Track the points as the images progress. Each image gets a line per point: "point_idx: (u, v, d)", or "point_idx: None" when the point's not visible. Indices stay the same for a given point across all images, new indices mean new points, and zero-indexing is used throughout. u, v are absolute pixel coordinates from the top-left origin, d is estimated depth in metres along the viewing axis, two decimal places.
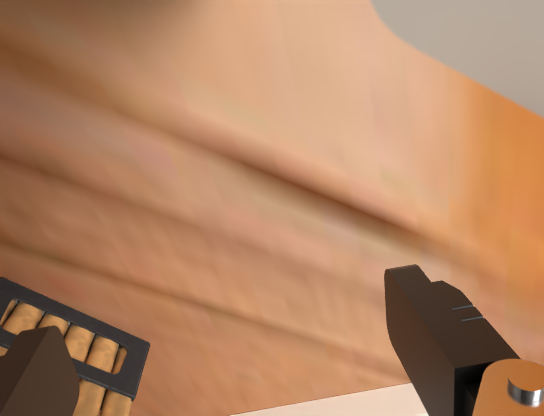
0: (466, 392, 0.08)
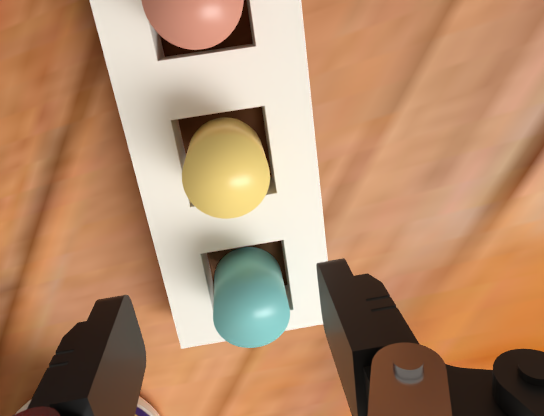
0: (365, 373, 0.09)
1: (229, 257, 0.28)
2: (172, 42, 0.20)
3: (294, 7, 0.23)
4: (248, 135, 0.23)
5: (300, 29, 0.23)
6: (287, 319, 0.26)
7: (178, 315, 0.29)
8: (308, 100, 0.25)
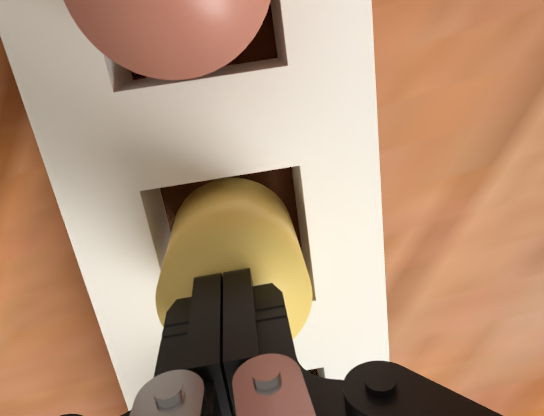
0: None
1: None
2: (125, 65, 0.10)
3: None
4: (273, 220, 0.13)
5: (367, 35, 0.13)
6: None
7: None
8: (374, 156, 0.14)
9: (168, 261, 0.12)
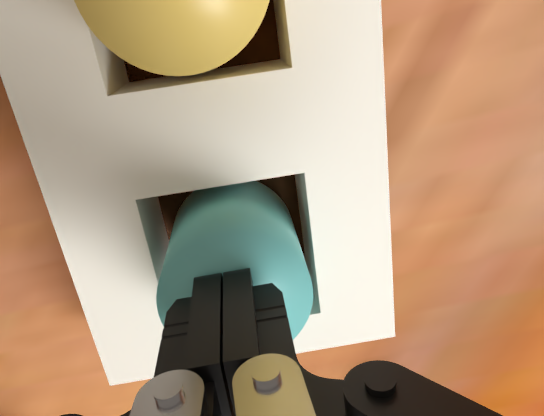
0: None
1: (197, 194, 0.15)
2: None
3: None
4: None
5: None
6: (307, 307, 0.13)
7: (99, 323, 0.15)
8: None
9: None
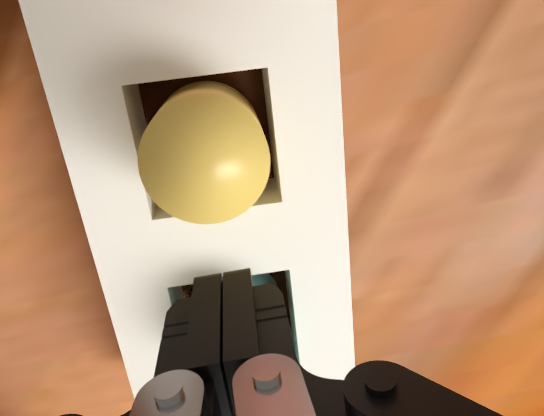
0: None
1: None
2: None
3: None
4: (239, 102, 0.15)
5: None
6: None
7: (135, 373, 0.20)
8: (335, 61, 0.16)
9: (149, 123, 0.14)
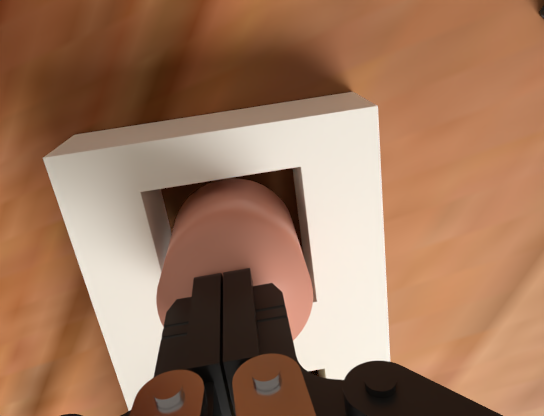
0: None
1: None
2: None
3: (374, 254, 0.16)
4: None
5: (381, 279, 0.16)
6: None
7: None
8: (386, 359, 0.17)
9: None
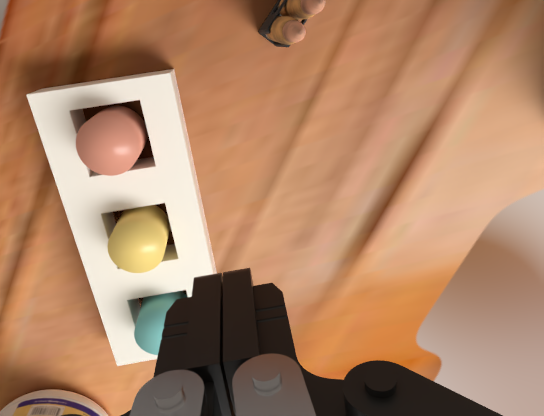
0: None
1: None
2: (96, 172, 0.32)
3: (179, 142, 0.34)
4: (152, 220, 0.36)
5: (185, 155, 0.35)
6: None
7: (113, 342, 0.40)
8: (195, 199, 0.36)
9: (111, 234, 0.34)
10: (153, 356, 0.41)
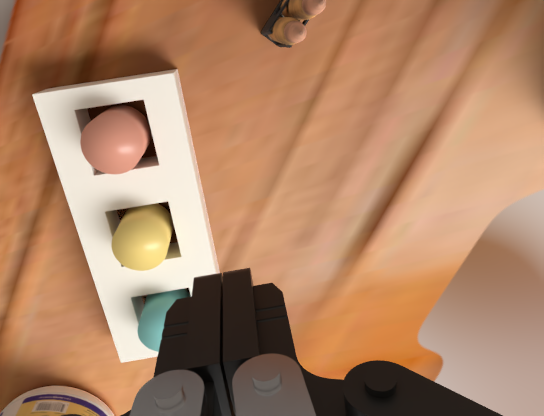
0: None
1: None
2: (101, 170, 0.33)
3: (183, 141, 0.35)
4: (155, 218, 0.36)
5: (188, 154, 0.35)
6: None
7: (117, 339, 0.41)
8: (197, 197, 0.37)
9: (115, 232, 0.35)
10: (156, 353, 0.42)
